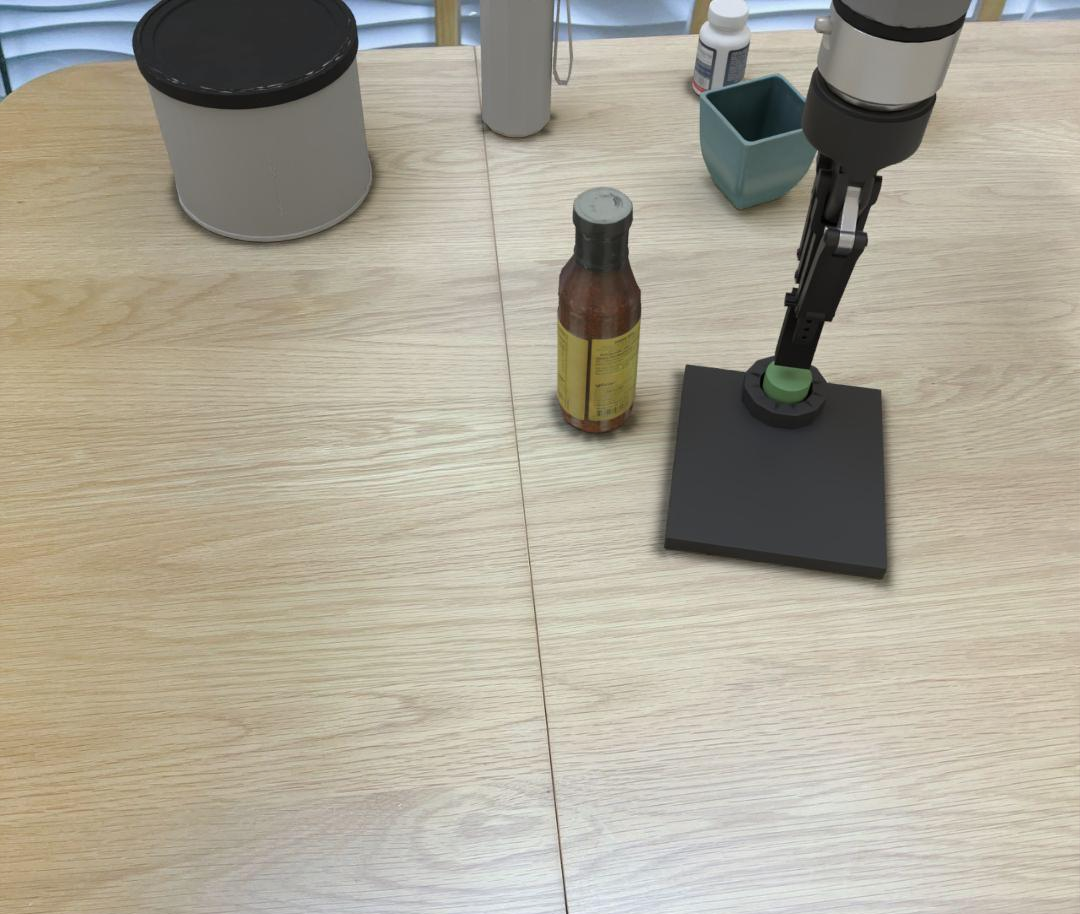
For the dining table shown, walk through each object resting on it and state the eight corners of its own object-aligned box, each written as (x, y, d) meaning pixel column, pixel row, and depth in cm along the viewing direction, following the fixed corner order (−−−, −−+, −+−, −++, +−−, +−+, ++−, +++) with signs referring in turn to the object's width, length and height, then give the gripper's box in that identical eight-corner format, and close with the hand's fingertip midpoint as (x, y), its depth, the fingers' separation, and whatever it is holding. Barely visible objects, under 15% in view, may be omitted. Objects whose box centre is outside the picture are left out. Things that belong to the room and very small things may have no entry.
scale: (876, 394, 90) (886, 368, 88) (882, 579, 80) (894, 556, 77) (684, 369, 92) (688, 343, 89) (663, 548, 81) (668, 524, 78)
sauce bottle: (641, 390, 90) (669, 186, 74) (621, 445, 87) (646, 243, 70) (565, 372, 91) (576, 167, 75) (542, 425, 88) (549, 222, 72)
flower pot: (729, 228, 103) (746, 144, 95) (684, 175, 107) (697, 91, 100) (809, 206, 105) (831, 122, 98) (761, 155, 110) (779, 71, 102)
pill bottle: (743, 77, 118) (758, -4, 110) (739, 105, 114) (755, 23, 107) (693, 72, 118) (705, -10, 111) (689, 99, 115) (701, 17, 108)
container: (237, 271, 98) (198, 120, 85) (140, 167, 106) (93, 16, 94) (412, 192, 105) (399, 43, 92) (308, 101, 113) (284, -47, 101)
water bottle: (471, 137, 110) (463, -132, 90) (490, 94, 115) (487, -172, 94) (560, 151, 109) (572, -118, 89) (576, 107, 114) (591, -158, 93)
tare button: (808, 375, 88) (812, 361, 87) (807, 407, 86) (811, 393, 85) (763, 369, 88) (767, 355, 87) (761, 401, 86) (765, 387, 85)
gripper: (814, 14, 70) (747, 298, 89) (812, 133, 62) (739, 415, 81) (934, 27, 69) (840, 310, 88) (946, 149, 61) (841, 429, 81)
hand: (792, 360), depth 85 cm, fingers closed
